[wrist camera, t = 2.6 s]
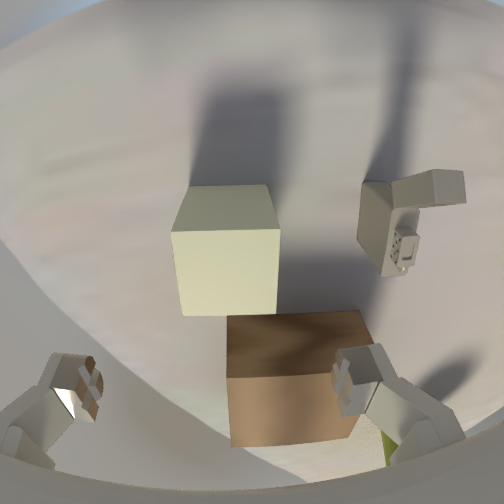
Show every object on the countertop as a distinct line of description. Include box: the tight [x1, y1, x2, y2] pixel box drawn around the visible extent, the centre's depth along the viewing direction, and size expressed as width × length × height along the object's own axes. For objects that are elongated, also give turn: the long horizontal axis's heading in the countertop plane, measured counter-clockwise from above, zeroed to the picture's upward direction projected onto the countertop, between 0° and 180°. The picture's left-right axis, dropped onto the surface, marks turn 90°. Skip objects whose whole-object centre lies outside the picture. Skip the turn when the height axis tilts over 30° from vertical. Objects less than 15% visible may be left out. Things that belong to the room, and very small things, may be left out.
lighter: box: [357, 169, 466, 278], centre depth 15 cm, size 7×2×8 cm, turn 2°
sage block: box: [171, 185, 280, 316], centre depth 17 cm, size 4×4×6 cm
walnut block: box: [226, 310, 374, 447], centre depth 23 cm, size 10×10×6 cm
